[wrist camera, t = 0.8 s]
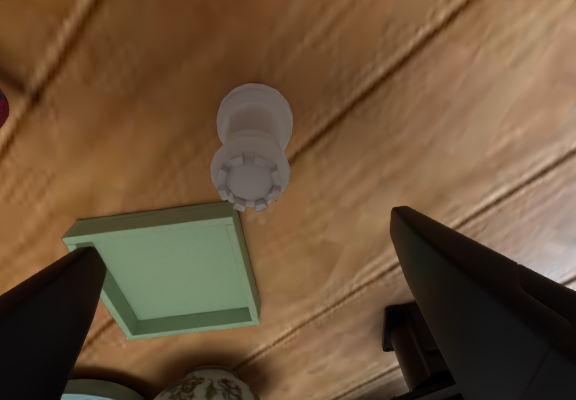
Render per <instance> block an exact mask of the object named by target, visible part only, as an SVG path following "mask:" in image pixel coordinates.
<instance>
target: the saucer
mask: <svg viewBox="0 0 576 400" xmlns="http://www.w3.org/2000/svg"><path fill="white" fill-rule="evenodd" d="M61 400H145V399H144V398H143V397H142V396H141V395H140V394H138V393H137V392H135V391H134V390H132V389H130V388H128V387H125V386H123V385H120V384H117V383H113V382H109V381H104V380H95V379H75V380H68V383H67V385H66V388H65V390H64V393H63V395H62V398H61Z"/></svg>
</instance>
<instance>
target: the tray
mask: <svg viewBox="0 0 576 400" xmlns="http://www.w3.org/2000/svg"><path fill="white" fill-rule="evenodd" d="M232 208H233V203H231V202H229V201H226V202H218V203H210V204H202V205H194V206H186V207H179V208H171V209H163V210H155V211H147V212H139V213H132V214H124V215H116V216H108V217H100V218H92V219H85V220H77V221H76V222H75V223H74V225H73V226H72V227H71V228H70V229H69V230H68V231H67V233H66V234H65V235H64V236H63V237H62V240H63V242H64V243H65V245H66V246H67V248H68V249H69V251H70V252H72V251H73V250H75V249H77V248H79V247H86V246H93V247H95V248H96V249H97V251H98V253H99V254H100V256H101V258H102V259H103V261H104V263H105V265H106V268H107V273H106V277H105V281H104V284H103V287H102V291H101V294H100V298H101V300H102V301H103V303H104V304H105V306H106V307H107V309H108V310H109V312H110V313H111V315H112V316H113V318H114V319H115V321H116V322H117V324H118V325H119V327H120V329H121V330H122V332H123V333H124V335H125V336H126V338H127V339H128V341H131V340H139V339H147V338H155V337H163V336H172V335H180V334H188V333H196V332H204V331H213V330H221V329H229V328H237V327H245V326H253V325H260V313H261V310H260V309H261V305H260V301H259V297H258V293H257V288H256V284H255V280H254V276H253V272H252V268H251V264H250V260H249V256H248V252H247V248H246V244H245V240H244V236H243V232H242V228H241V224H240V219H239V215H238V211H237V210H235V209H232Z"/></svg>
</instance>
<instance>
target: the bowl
mask: <svg viewBox="0 0 576 400" xmlns="http://www.w3.org/2000/svg"><path fill="white" fill-rule="evenodd" d="M154 400H260V398H259V397H258V395H257V394H256V393H255V392H254V391H253V390H252V389H251V388H250V387H249V386H248V385H247V384H245V383H244V382H242V381H240V380H239V376H238V375H237V374H236V373H235V372H234V371H233V370H231V369H230V368H227V367H224V366H219V365H203V366H198V367H196V368H193V369H191V370H189V371H187V372H186V373H185V374H184V375H183V377H182V379H181V380H179V381H177V382H175V383H173V384H172V385H170V386H168V387H167V388H166V389H165V390H163V391H162V392H161V393H160V394H159V395H158V396H157V397H156V398H155V399H154Z"/></svg>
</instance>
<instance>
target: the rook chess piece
mask: <svg viewBox="0 0 576 400" xmlns="http://www.w3.org/2000/svg"><path fill="white" fill-rule="evenodd" d="M216 121H217V133H218V136H219V138H220V140H221V142H222V144H223V145H222V146H221V147H220V148H219V149H218V150H217V151H216V152H215V154H214V157H213V159H212V162H211V165H210V172H211V181H212V183H213V184H214V186H215V188H216V190H217V192H218V193H219V195H220V197H221V199H222V200H223V201H224V200H226V199H227V200H228V201H229V202H231V203H233V208H232V209H235V210H238V211H241V212H244V210H245V207H255V209H256V212H259V211H262V210H265V209H268V204H269V203H272V202H273V201H274V200H275V201H277V199H278V197H279V196H281V195H282V194H283V193H284V191H285V189H286V187H287V185H288V183H289V180H290V166H289V164H288V161H287V159H286V156H285V154H284V153H283V151H284V150H285V149H286V147H287V145H288V143H289V141H290V139H291V137H292V131H293V114H292V112H291V109H290V106H289V103H288V101H287V100H286V99H285V98H284V97H283V96H282V95H281V94H280V93H279V92H278V91H277V90H275V89H273V88H271V87H269V86H267V85H264V84H253V83H247V84H244V85H242V86H239V87H237V88H234V89H232V90H231V91H230V92H229V93H228V95H227V96H226V97H225V98H224V99H223V100H222V102H221V105H220V108H219V111H218V114H217V119H216Z"/></svg>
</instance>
